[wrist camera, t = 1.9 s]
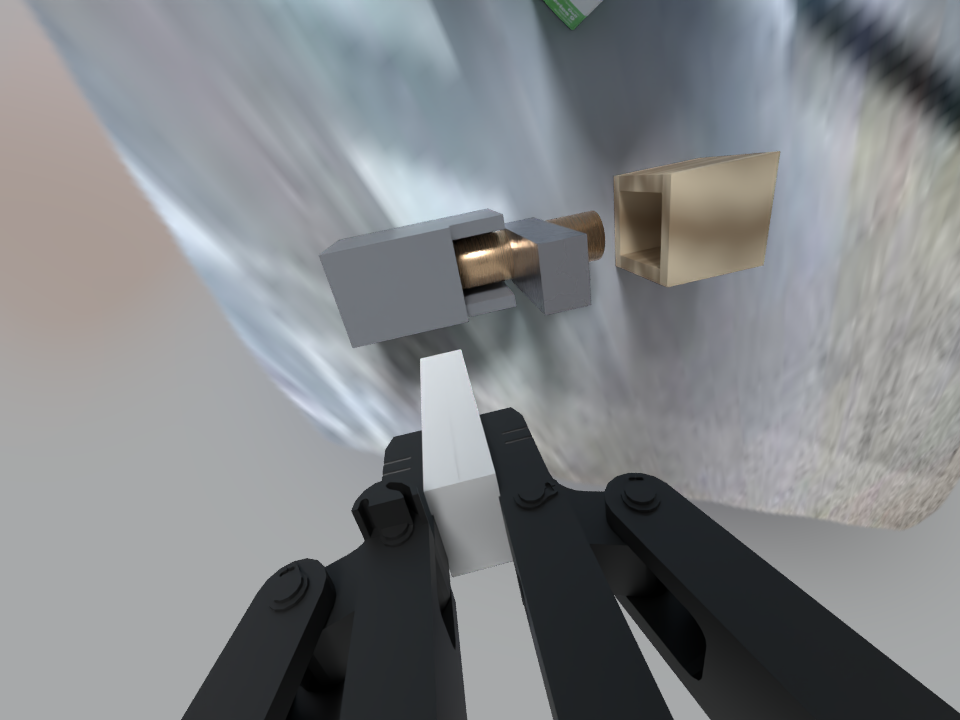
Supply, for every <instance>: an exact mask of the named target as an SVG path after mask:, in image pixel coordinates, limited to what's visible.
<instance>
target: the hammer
mask: <svg viewBox="0 0 960 720" xmlns="http://www.w3.org/2000/svg"><path fill="white" fill-rule="evenodd" d="M504 225H505V229H502V230H500V231H495V232H490V233H486V234H481V235H476V236H472V237H467V238H462V239H458V240H453V241H452V242H453V247H454V252H455V257H456V261H457V266H458V271H459V276H460V281H461V285H462V290H465V289H469V288H474V287H478V286H483V285H487V284H492V283H496V282H501V281H505V280H510V279H511V280H512V281H513V282H514V283H515V284H516V286H517V287H518V288H519V289H520V290H521V291H522V292H523V293H524V294H525V295H526V296H527V297H528V298H529V299H530V300H531V301H532V302H533V303H534V304H535V305H536V306H537V307H538V308H539V309H540V310H541V311H542V312H543V313H544V314H545V315H549V314H554V313H558V312H562V311H567V310H571V309H575V308H580V307H584V306H589V305H591V296H590V278H589V262H591V261H595V260H599V259H600V258H601V257H602V255H603V253H604V248H605V233H604V228H603V224H602V221H601V219H600V217H599V215H598V214H597V213H596V212H595V211H588V212H584V213H579V214H574V215H570V216H565V217H560V218H556V219H551V220H546V221H543V220H540V219H536V218H528V219H523V220H519V221H514V222H509V223H505V224H504Z"/></svg>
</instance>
